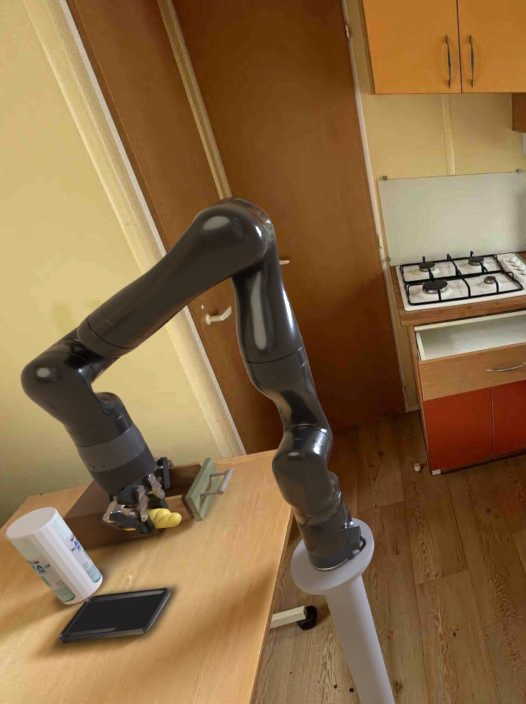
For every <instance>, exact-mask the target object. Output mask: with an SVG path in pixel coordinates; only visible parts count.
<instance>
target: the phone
mask: <svg viewBox="0 0 526 704" xmlns="http://www.w3.org/2000/svg"><path fill="white" fill-rule="evenodd" d="M170 596H171V591H170V589H169V588H167V587H161V588H152V589H141V590H134V591H133V590H131V591H125V592H114V593H105V594H96V595H91V596H89V597H87V598H86V599H85V601H84V602H83V603H82V605H81V606H80V607H79V609H78V610H77V611H76V613H75V614H74V615H73V617H72V618H71V619H70V620H69V622H68V623H67V624H66V626H65V627H64V629H63V630H62V631H61V632H60V634H59V635H58V639H59V641H60V643H62V644H70V643H79V642H88V641H97V640H105V639H112V638H113V639H114V638H121V637H130V636H131V637H132V636H138V635H144V634H146V633H147V632H149V630H150V629H151V628H152V627H153V626H154V624H155V622H156V620H157V619H158V617H159V615H160V614H161V612H162V610H163V609H164V607H165V605H167V603H168V600H169V598H170Z"/></svg>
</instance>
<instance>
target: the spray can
mask: <svg viewBox="0 0 526 704" xmlns="http://www.w3.org/2000/svg"><path fill="white" fill-rule="evenodd" d="M5 537H6V539H7V540H8V541H9V542H10V544H11V545H13V547H14V548H15V550H16V551H17V552H18V553H19V554H20V555H21V556H22V557H23V559H24V560H25V561H26V562H27V563H28V565H29V566H30V567H31V568H32V569H33V570H34V571H35V573H36V574H37V575H38V577H40V579H41V580H42V581H43V582H44V584H46V586H47V587H48V588H49V589H50V590H51V592H52V593H53V594H54V595H55V596H56V598H58V600H59V601H60V603H62V604H65V605H74V604H77V603H79V602H81V601H84V600H87V599H88V598H90V597H91V596H92V595H93V594H94V593H95V592H96V591H97V590H99V587H100V586H101V585H102V582H103V575H102V573H101V572H100V571H99V568H97V567H96V565H95V563H94V562H93V560H92V559H91V557H90V556H89V555H88V553H87V552H86V550H85V548H84V549H83V547H82V546H81V545H80V543H79V542H78V540H77V539H76V537H75V536H74V535H73V533H72V532H71V530H70V529H69V527H68V526H67V524H66V523H65V522H64V520H63V517H62V516H61V514H60V513H59V511H58V510H57V509H56V508H55V507H52V506H46V507H45V506H44V507H40V508H37V509H34V510H32V511H29V512H27V513H25V514H23V515H22V516H20V517H19V518H17V519H16V520H15V521H13V522H12V523H11V524H10V525H9V526H8V528H7V529H6V531H5Z"/></svg>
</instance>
